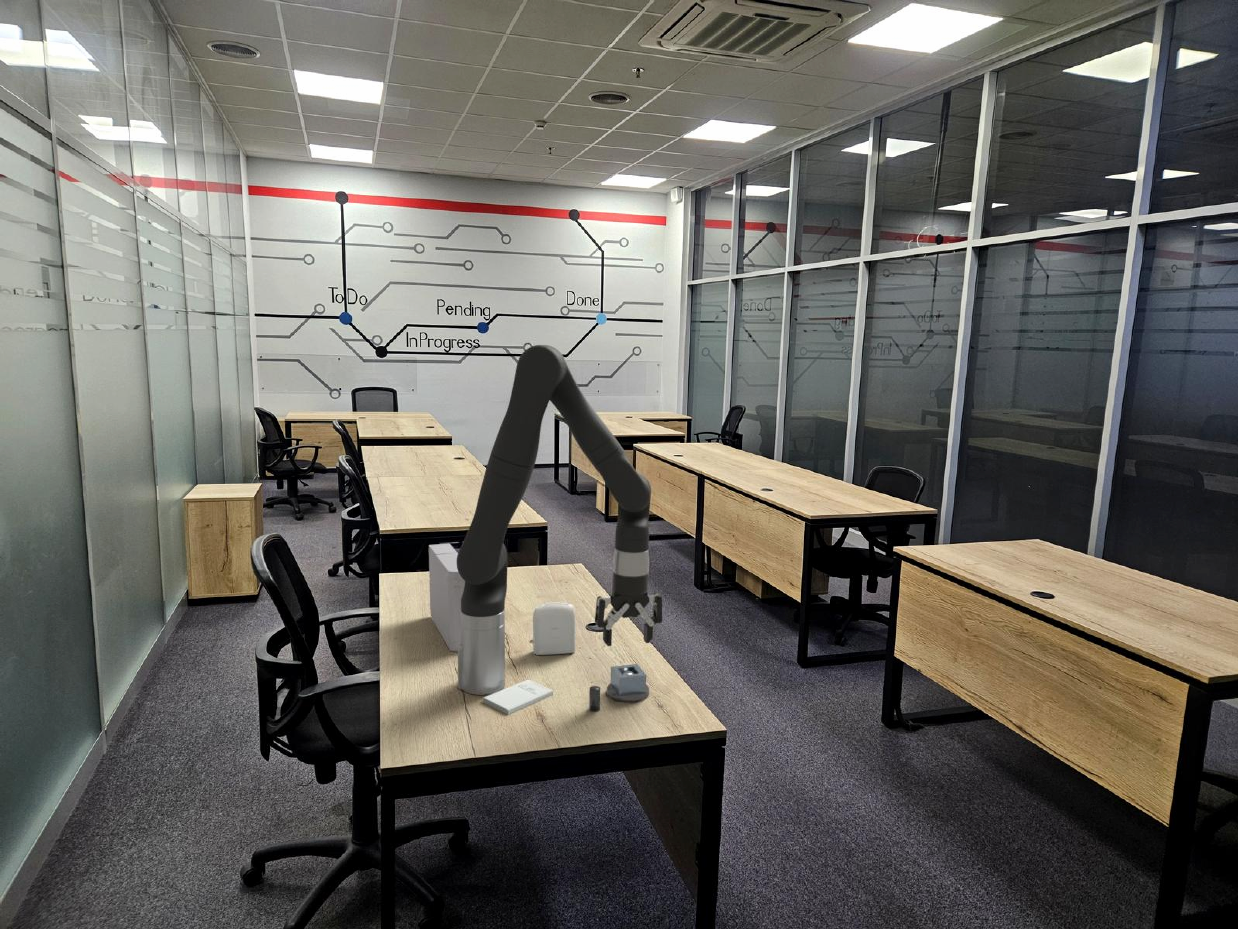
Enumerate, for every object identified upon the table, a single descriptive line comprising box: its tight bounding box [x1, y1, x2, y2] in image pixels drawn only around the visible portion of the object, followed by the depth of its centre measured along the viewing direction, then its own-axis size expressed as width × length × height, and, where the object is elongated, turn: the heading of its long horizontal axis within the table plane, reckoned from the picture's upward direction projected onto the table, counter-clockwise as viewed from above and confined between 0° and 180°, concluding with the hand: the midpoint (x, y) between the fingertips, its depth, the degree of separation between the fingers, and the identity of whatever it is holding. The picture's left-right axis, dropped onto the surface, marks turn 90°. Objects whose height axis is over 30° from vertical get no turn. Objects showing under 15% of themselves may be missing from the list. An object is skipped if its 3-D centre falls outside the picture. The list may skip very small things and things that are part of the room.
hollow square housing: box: [610, 663, 647, 696], centre depth 163 cm, size 6×6×4 cm
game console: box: [428, 542, 465, 652], centre depth 195 cm, size 6×27×20 cm, turn 24°
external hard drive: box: [482, 679, 554, 716], centre depth 160 cm, size 2×8×12 cm
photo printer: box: [532, 601, 576, 656], centre depth 184 cm, size 10×4×12 cm, turn 100°
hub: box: [606, 671, 650, 703], centre depth 163 cm, size 9×9×4 cm
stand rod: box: [588, 685, 601, 713], centre depth 155 cm, size 2×2×4 cm
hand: (627, 643), depth 162 cm, fingers open, 8 cm apart
